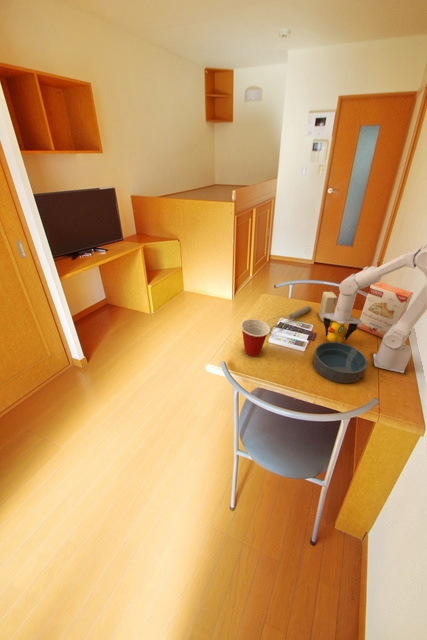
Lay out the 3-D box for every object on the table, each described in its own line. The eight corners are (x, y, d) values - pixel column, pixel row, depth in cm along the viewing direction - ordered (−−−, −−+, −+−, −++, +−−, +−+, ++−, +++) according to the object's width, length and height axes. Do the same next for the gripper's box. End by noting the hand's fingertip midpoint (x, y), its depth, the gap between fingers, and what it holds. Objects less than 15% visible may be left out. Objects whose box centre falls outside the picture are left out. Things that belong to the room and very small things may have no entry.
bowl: (362, 358, 109) (366, 348, 106) (364, 389, 95) (368, 378, 93) (314, 348, 114) (317, 337, 112) (310, 376, 101) (312, 365, 98)
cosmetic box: (331, 322, 131) (337, 297, 124) (322, 321, 131) (327, 297, 124) (327, 314, 136) (333, 291, 130) (317, 314, 136) (323, 291, 130)
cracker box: (356, 328, 127) (370, 284, 116) (362, 323, 130) (376, 280, 119) (389, 342, 118) (408, 296, 107) (395, 336, 121) (414, 291, 110)
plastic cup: (262, 364, 106) (266, 337, 99) (235, 356, 110) (236, 330, 103) (270, 348, 114) (274, 322, 108) (244, 341, 118) (246, 315, 112)
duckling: (329, 350, 113) (335, 328, 108) (318, 343, 117) (324, 322, 112) (348, 341, 118) (355, 320, 113) (337, 335, 122) (343, 314, 117)
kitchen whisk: (316, 311, 139) (318, 299, 136) (272, 339, 119) (274, 326, 116) (305, 306, 143) (307, 295, 139) (261, 333, 123) (262, 320, 120)
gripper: (323, 308, 108) (316, 338, 116) (365, 316, 104) (355, 346, 111) (324, 300, 114) (317, 329, 121) (364, 307, 109) (355, 336, 117)
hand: (336, 336), depth 116 cm, fingers closed on duckling, 7 cm apart
